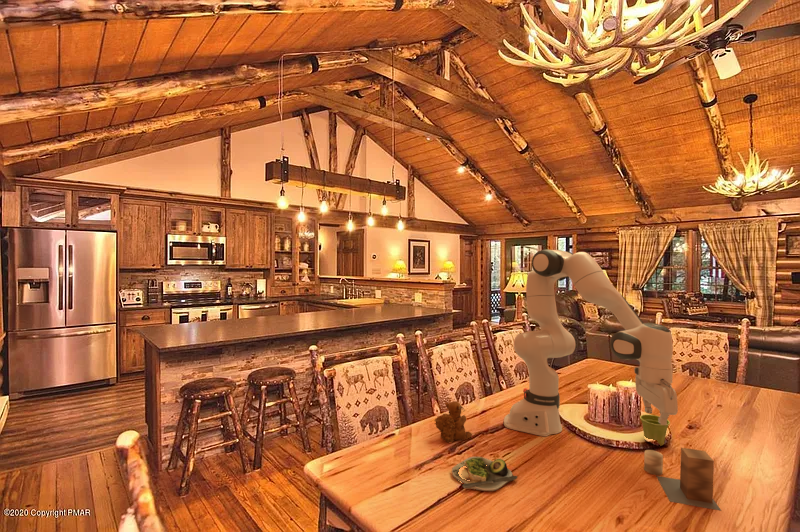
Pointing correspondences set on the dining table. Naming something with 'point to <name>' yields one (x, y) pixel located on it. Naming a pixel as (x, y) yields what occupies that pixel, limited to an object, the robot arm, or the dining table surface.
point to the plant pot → (654, 428)
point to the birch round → (653, 462)
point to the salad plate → (484, 473)
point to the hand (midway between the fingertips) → (655, 418)
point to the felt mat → (681, 494)
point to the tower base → (696, 488)
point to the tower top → (697, 464)
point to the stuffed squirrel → (452, 423)
